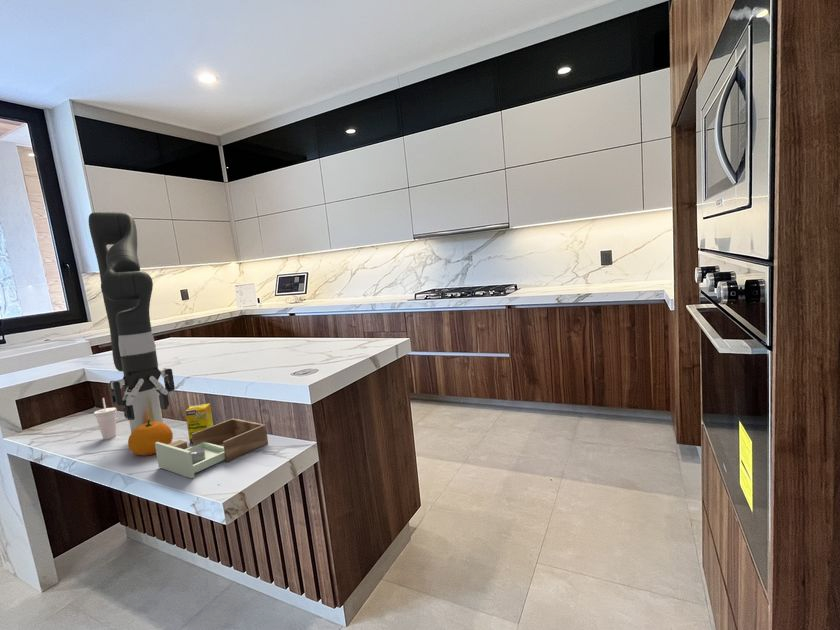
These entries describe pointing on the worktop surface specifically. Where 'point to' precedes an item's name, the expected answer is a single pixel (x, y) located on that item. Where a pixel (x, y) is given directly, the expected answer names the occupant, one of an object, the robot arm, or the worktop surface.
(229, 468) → the worktop surface
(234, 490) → the worktop surface
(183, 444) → the brown wooden cube
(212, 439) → the cubby
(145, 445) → the fruit
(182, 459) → the tray
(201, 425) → the supplement box
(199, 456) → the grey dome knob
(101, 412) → the smoothie
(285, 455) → the worktop surface
